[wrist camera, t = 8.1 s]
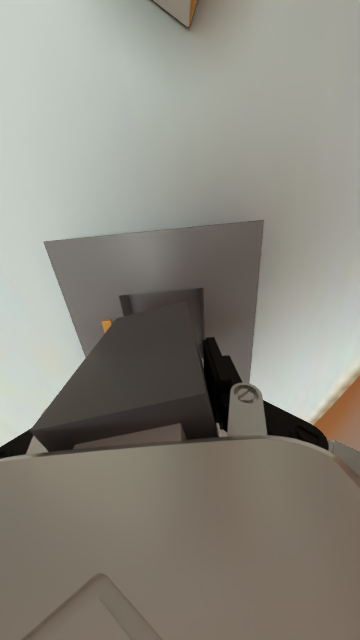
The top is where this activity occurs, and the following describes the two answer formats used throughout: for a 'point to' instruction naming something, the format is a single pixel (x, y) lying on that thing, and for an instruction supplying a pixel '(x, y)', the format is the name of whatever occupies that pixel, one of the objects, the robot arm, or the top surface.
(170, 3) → the small box
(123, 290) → the socket block
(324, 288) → the top surface
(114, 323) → the plug
